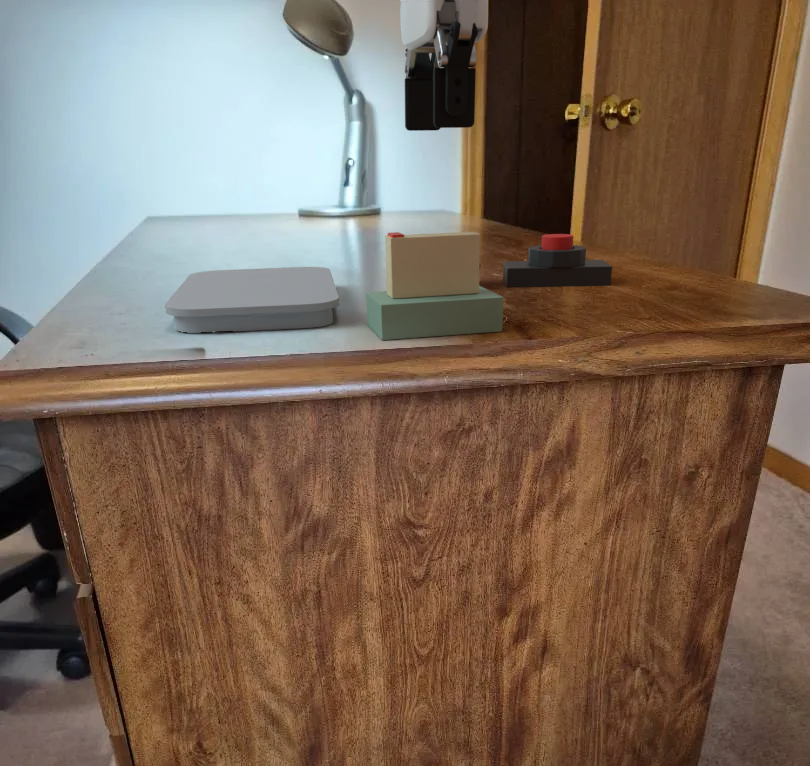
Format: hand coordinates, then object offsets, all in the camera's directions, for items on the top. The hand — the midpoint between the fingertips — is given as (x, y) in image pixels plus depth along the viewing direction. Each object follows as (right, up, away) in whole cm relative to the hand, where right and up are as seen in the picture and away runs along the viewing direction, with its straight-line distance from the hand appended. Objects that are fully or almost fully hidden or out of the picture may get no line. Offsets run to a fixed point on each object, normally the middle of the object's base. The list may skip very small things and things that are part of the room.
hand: (437, 128), depth 66 cm
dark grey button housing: (+15, -4, +28) cm, 32 cm away
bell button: (+15, 0, +27) cm, 31 cm away
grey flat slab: (-18, -10, +18) cm, 28 cm away
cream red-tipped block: (0, -12, +5) cm, 13 cm away
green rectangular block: (0, -15, +7) cm, 16 cm away
